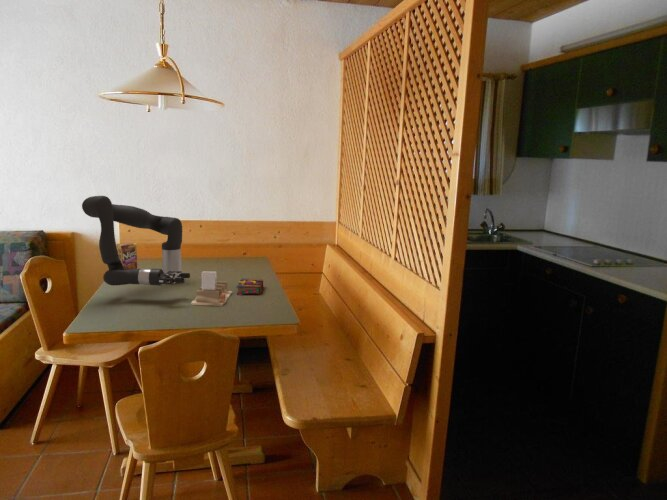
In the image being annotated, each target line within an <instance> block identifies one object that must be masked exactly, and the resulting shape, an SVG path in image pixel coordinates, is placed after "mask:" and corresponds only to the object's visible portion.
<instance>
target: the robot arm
mask: <svg viewBox="0 0 667 500" xmlns="http://www.w3.org/2000/svg"><path fill="white" fill-rule="evenodd" d="M81 209H82V212H84V214H85V215H87V216H88V217H90V218H96V219H97V218H98V219H99V223H100V236H99V240H98V241H99V242H98V247H99V253H100V258H101V261H102V262H103V264H105V265H106V266H107V268H108V270H107V271H105V272H104V274H103V275H102V276H103V277H102V278H103V282H104V283H105V284H107V285H109V286H126V285H143V286H162V285H173V284H178V283H179V284H184V283H185V279H190V278H191V273H190V272H186V273H185V272H182V254H181V253H182V248H181V247H182V243H183V224H182V221H181V219H180V218H178V217H171V216H160V215H154V214H152V213H150V212H149V211H148V210H146V209H143V208H140V207H137V206H133V205H127V204H126V205H125V204H115V203H114V204H113V203H112V201H111V198H109V197H108V196H106V195H93V196H89V197H87V198H85V199H84V200H83V202H82V204H81ZM114 222H115V223H118V224H122V225H126V226H129V227H133V228H138V229H145V230H146V229H147V230H151V231H154V232H157V233H159V234H161V235H165V236H167V240H166V241H164V242H162V243H161V258H162V260H161V261H162V262H161V263H162V268H137V269H129V270H124V267H123V265H122V263H121V261H120V259H119V254H118V245H117V242H116V235H115V223H114Z"/></svg>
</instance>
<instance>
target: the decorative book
mask: <svg viewBox="0 0 667 500" xmlns="http://www.w3.org/2000/svg"><path fill="white" fill-rule="evenodd" d="M236 288H237V292H236V295H237V296H242V295H244V296H245V295H261V294H262V290H264V279H263V278H247V277H245V278H243V277H242V278H241V279H240V281H238V284H237V285H236Z"/></svg>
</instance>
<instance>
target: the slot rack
mask: <svg viewBox="0 0 667 500" xmlns="http://www.w3.org/2000/svg"><path fill="white" fill-rule="evenodd" d="M228 290H229V289H228V281H217V291H202V286H201V287H199V290H195V296H196V297H195V298H194V299H192V301H191V302H190V305H192V306H215V307H216V306H217V307H218V306H219V307H223V306H224V305H225V303H226V302H227V301H228V299H230V298H231V296H232V294H233V291H231V290H229V291H228Z"/></svg>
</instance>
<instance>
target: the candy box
mask: <svg viewBox="0 0 667 500" xmlns="http://www.w3.org/2000/svg"><path fill="white" fill-rule="evenodd" d="M137 246H138V245H137V243H135V242H132V243H131V242H129V243H121V244H118V245H117V251H118V255H119V259H120V261H121V263H122V265H123V267H124V270H129V269H138V247H137Z"/></svg>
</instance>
